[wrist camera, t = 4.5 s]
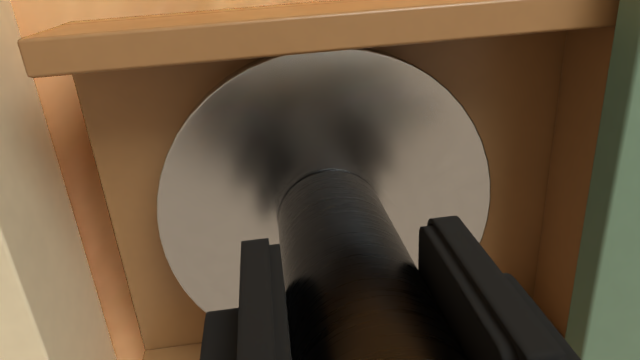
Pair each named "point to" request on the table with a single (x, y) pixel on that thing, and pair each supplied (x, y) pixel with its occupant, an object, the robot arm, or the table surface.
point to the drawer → (230, 55)
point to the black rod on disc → (326, 196)
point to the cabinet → (612, 213)
